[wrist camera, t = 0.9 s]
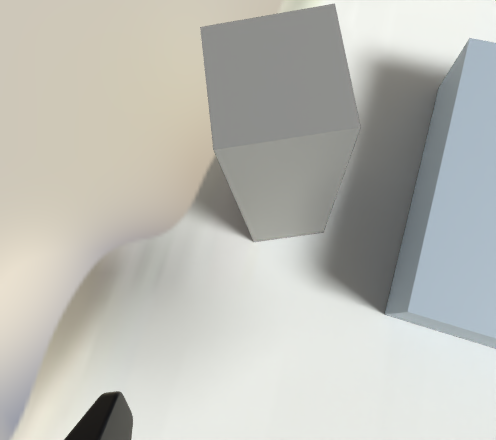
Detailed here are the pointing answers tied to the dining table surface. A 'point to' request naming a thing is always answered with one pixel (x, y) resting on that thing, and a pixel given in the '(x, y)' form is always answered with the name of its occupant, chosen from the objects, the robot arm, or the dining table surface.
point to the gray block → (281, 117)
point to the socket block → (454, 209)
